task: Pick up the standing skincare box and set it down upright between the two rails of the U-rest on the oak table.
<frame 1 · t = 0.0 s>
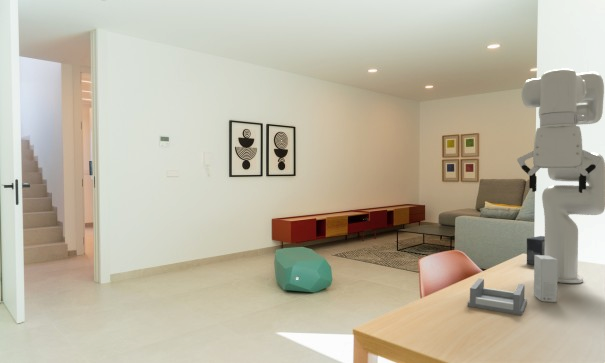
hand: (556, 192, 100), 31 cm above the table, tool pointing down, fingers open, 9 cm apart
rest: (497, 304, 111), on the table
skincare box: (545, 299, 116), on the table
small box: (541, 264, 161), on the table
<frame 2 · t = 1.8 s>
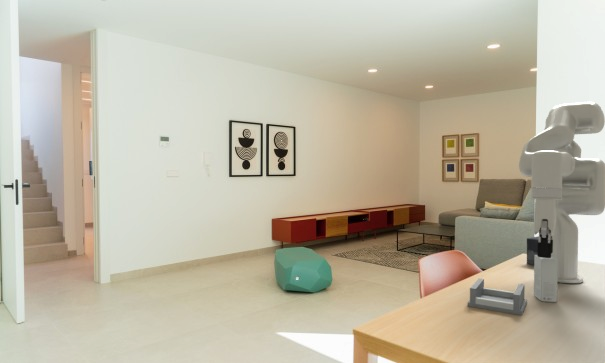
hand: (545, 254, 115), 13 cm above the table, tool pointing down, fingers open, 9 cm apart
nothing on the table moved.
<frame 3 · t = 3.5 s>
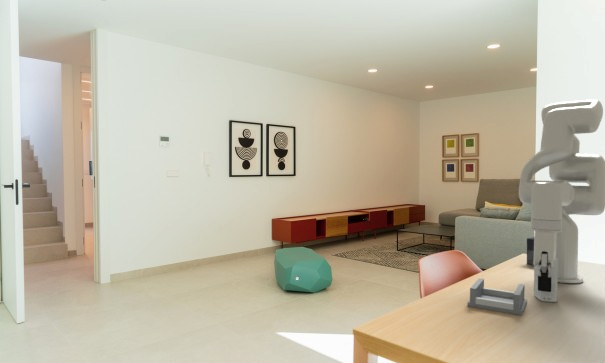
hand: (545, 287, 116), 3 cm above the table, tool pointing down, fingers closed on skincare box, 7 cm apart
skincare box: (545, 299, 116), on the table, touching gripper
everything else where it was.
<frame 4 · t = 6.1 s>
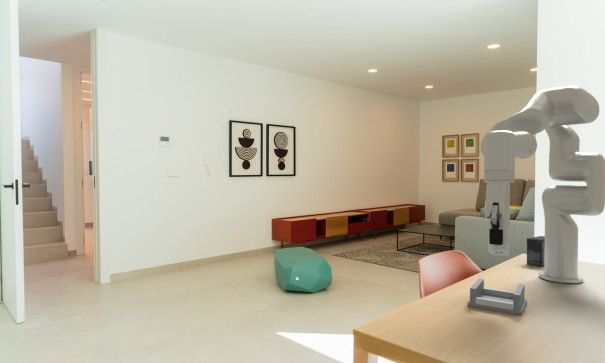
hand: (498, 241, 111), 17 cm above the table, tool pointing down, fingers closed on skincare box, 7 cm apart
skincare box: (498, 254, 111), point 14 cm above the table, touching gripper
everything else where it was.
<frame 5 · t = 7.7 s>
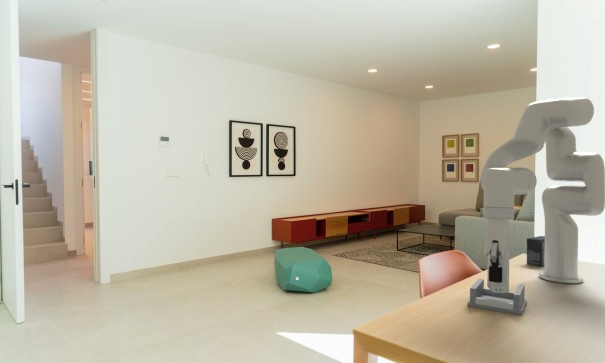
hand: (497, 278, 111), 7 cm above the table, tool pointing down, fingers closed on skincare box, 7 cm apart
skincare box: (497, 290, 111), point 4 cm above the table, touching gripper
everything else where it was.
when the fingers open (6 cm above the table, at t = 9.0 s): skincare box drops 1 cm, resting on rest.
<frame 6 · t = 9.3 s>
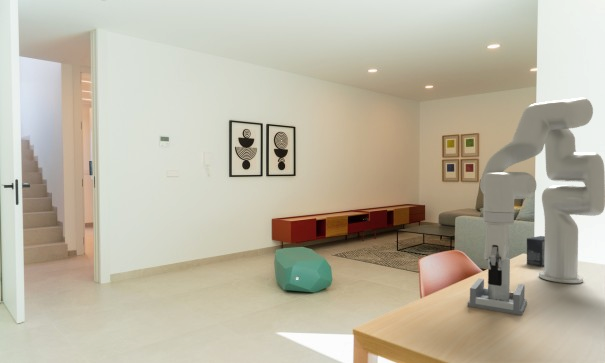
hand: (497, 280, 111), 6 cm above the table, tool pointing down, fingers open, 9 cm apart
skincare box: (498, 301, 112), point 1 cm above the table, touching rest
everything else where it was.
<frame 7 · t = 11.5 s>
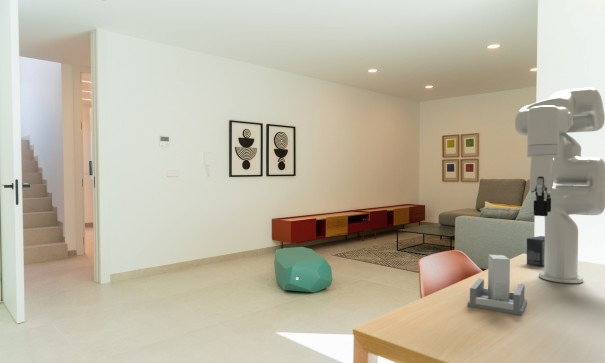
hand: (542, 213, 113), 25 cm above the table, tool pointing down, fingers open, 9 cm apart
nothing on the table moved.
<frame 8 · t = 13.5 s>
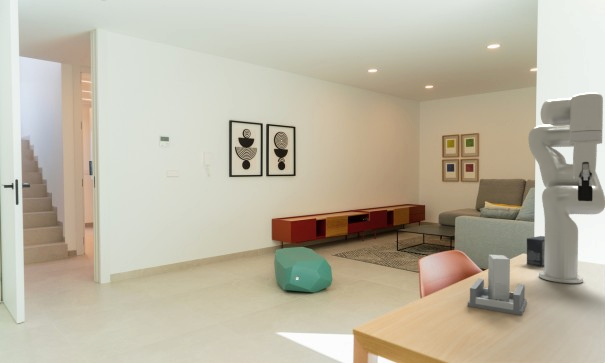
hand: (584, 200, 114), 28 cm above the table, tool pointing down, fingers open, 9 cm apart
nothing on the table moved.
at the end: skincare box inside the target area on the rest (0.5 cm from its centre), point 0.8 cm above the rest's base; skincare box tilted 0°; the gripper is holding nothing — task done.
